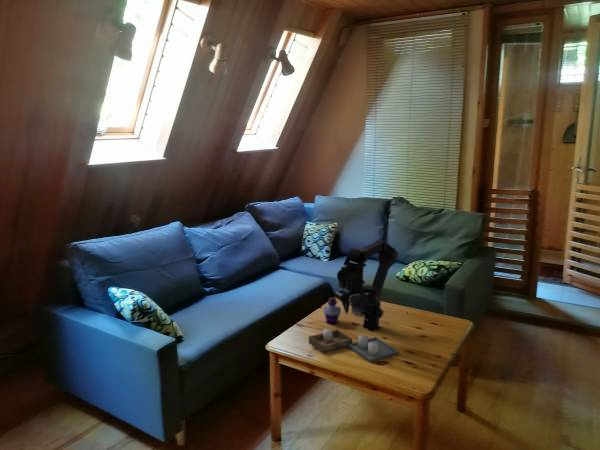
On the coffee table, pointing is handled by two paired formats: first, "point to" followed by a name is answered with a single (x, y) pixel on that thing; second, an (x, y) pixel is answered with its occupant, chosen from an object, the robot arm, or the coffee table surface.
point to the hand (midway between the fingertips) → (355, 311)
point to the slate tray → (383, 350)
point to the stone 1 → (327, 335)
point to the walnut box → (337, 342)
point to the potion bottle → (332, 311)
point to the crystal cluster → (356, 304)
